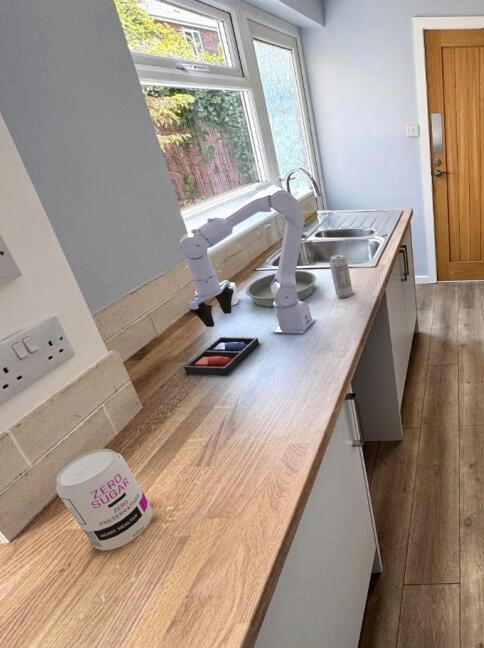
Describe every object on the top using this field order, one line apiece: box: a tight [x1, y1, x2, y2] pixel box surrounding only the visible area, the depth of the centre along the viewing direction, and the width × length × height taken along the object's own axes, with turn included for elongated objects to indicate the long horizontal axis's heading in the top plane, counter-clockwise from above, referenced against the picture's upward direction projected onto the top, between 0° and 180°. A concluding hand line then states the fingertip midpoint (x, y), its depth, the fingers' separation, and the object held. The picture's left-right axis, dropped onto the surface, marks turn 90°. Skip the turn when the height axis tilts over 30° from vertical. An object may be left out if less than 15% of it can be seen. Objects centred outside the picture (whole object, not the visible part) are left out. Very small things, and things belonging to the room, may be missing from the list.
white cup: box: [229, 281, 239, 307], centre depth 147 cm, size 7×7×7 cm
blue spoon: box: [213, 342, 247, 351], centre depth 117 cm, size 9×3×2 cm, turn 83°
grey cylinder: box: [329, 253, 353, 298], centre depth 147 cm, size 6×6×15 cm
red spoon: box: [195, 356, 231, 366], centre depth 111 cm, size 9×3×2 cm, turn 83°
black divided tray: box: [183, 336, 260, 377], centre depth 114 cm, size 12×15×2 cm
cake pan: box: [245, 270, 317, 307], centre depth 152 cm, size 25×25×4 cm
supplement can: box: [55, 448, 154, 551], centre depth 66 cm, size 8×8×15 cm
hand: (219, 319), depth 117 cm, fingers open, 7 cm apart
